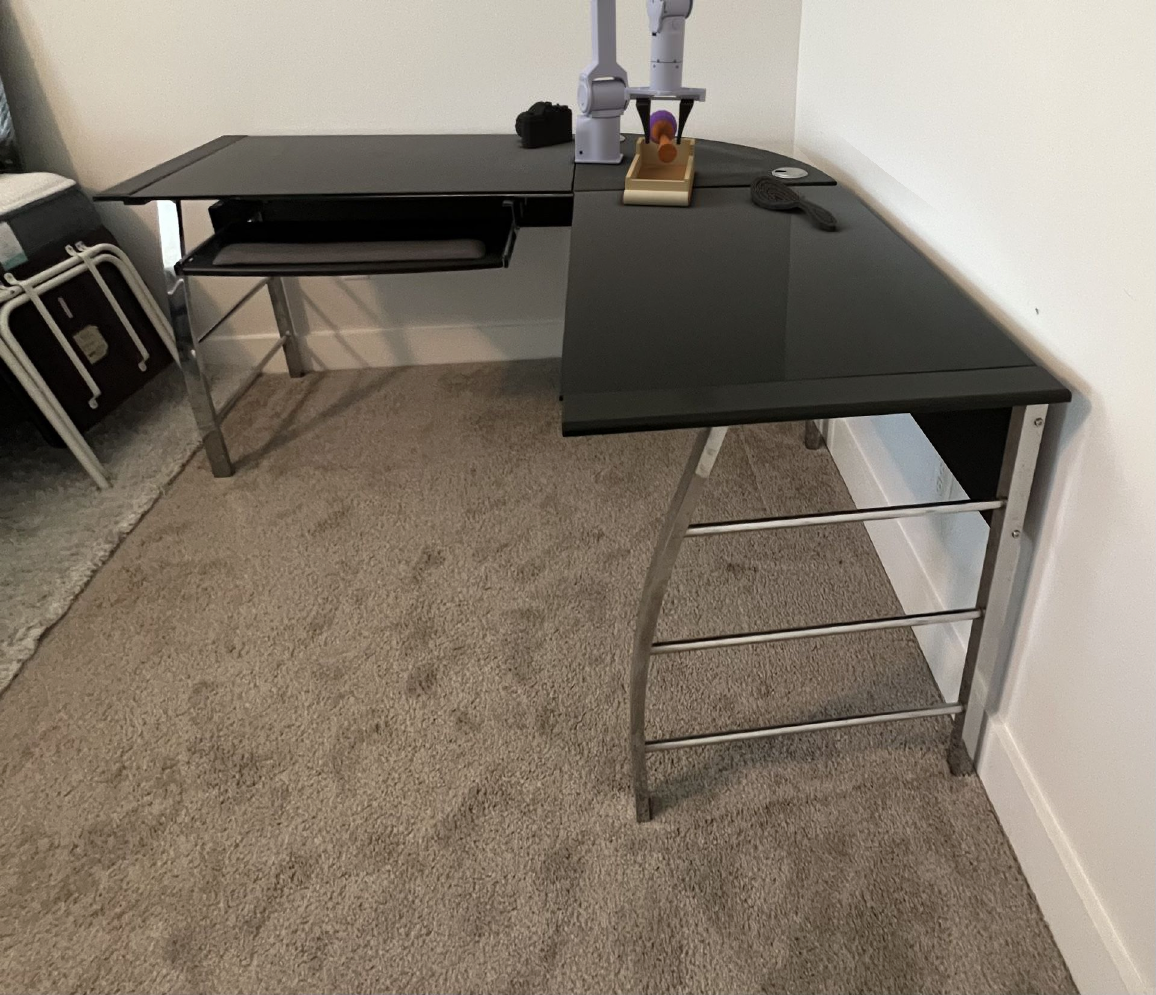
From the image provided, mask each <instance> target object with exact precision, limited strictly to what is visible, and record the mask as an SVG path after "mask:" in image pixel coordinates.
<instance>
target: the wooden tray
mask: <svg viewBox="0 0 1156 995" xmlns="http://www.w3.org/2000/svg"><path fill="white" fill-rule="evenodd" d="M671 142H672V144H673V145H674V146H675V148H676V150H677V155H676V158H675V159H674V160H673V161H672V162H670V163H664V162H662V161H661V160H660V159H659V157H658V150H659V144H656V143H654V142H652V141H651V140H650V143H649V144H645V136H644V137H642V136H641V137H638V139H637V141H636V144H635V145H636V146H635V147H636V148H635V156H634V158H633V160H632V162H631V164H630V166H629V169H628V171H627V174H626V176H625V182H624V183H625V185H624V188H625V189H624V192H623V194H622V204H623V205H637V206H639V205H640V206H644V205H645V206H664V207H666V206H667V207H668V206H669V207H689V206H690V204H691V203H690V202H691V197H692V190H693V184H694V179H695V173H696V164H694V162H695V145H696V138H684V137H681V144H680V145H676V142H677V137H674V138H673V139H672V140H671Z"/></svg>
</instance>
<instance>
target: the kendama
mask: <svg viewBox="0 0 1156 995" xmlns="http://www.w3.org/2000/svg"><path fill="white" fill-rule="evenodd" d="M677 133H678V122H677V120H676V117H675V115H674V114H673V113H672V112H670V111H668V110H666V109H658V110H657V111H653V112H652V114H650V140H651V141H652V142H654V143H656V144H659V150H658V157H659V159H660V160H661V161H662V162H664V163H670V162H672V161H673V160H674V159H675V158H676V155H677V150H676V148H675V146H674V145H673V144H672V142H671V140H672V139H673V138H676V137H675V136H676V135H677Z"/></svg>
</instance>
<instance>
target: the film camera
mask: <svg viewBox="0 0 1156 995" xmlns="http://www.w3.org/2000/svg"><path fill="white" fill-rule="evenodd" d="M514 128H515V129H514V130H515V132H516V135H517V136H518V137H520V138H521V145H522V148H524V149H536V148H543V147H548V146H552V145H557V144H562V143H568V142H571V141H573V138H574V137H573V109H571V108H569V105H567V104H562V105H561V104H560V103H559V102H557V103H556V104H553V102H552V101H547V100H546V101H543V100H540V101H536V102H534V103H533V104H532V105H531V106H530V107H529V108H528V109H527V110H525V111H522V112H520V113H519V114H518V115H517V116H516V118H515V124H514Z"/></svg>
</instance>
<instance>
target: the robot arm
mask: <svg viewBox="0 0 1156 995" xmlns="http://www.w3.org/2000/svg"><path fill="white" fill-rule="evenodd" d="M645 2H646V3H645V4H646V13H647V17H648V28H649V31H650V32H651V39H650V40H651V43H650V63H649V64H650V66H649V86H631V87H630V86H629V78H628V72H627V70H625V69H624V68H623V67H622V66H621V65H620V64H619V63H618V62H617V8H616V7H617V0H590V1H589V3H590V4H589V5H590V40H591V41H590V42H591V45H590V46H591V62H590V63H589V64H588V65H587V66H586V67H585V68H584V69H583V70H582V71H580V73H579V74H578V87H577V92H576V93H577V94H576V100H577V105H578V108H579V110H580V112H581V113H582V114H577V115H576V117H575V118H576V119H575V126H574V130H575V131H574V146H575V147H574V151H575V152H574V153H575V154H574V155H575V156H574V157H575V159H574V163H577V164H578V163H579V164H580V163H581V164H614V165H615V164H617V165H618V164H619V165H620V163H621V162H622V159H623V158H624V153H621V118H622V116H624V115H625V111H626V110H627V109H628V107H629V105H630V103H631V102H630V101H631V100H632V101H635V108H636V111H637V114H638V116H639V119H640V122H641V126H642V129H643V134H644V135H643V136H644V137H645V144H649V143H650V116H651V108H652V101H672V102H673V101H676V102H677V101H678V102H679V101H680V102H679V105H678V123H677V132H676V138H677V142H676V145H680V144H681V138H683V137H682V136H683V132H684V129H685V126H686V123H687V121H688V118H689V115H690V114H691V112H692V110H693V108H694V105H695V102H699V103H705V102H706V100H707V98H706V97H707V88H702V87H701V88H700V87H699V88H698V87H687V86H683V71H684V70H683V69H684V68H683V66H684V52H685V51H684V49H685V34H686V20H687V19H688V18H690V16H691V14H692V12H693V8H694V0H646V1H645ZM601 78H602V79H601ZM603 78H606V79H603ZM607 78H611V79H607Z"/></svg>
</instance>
